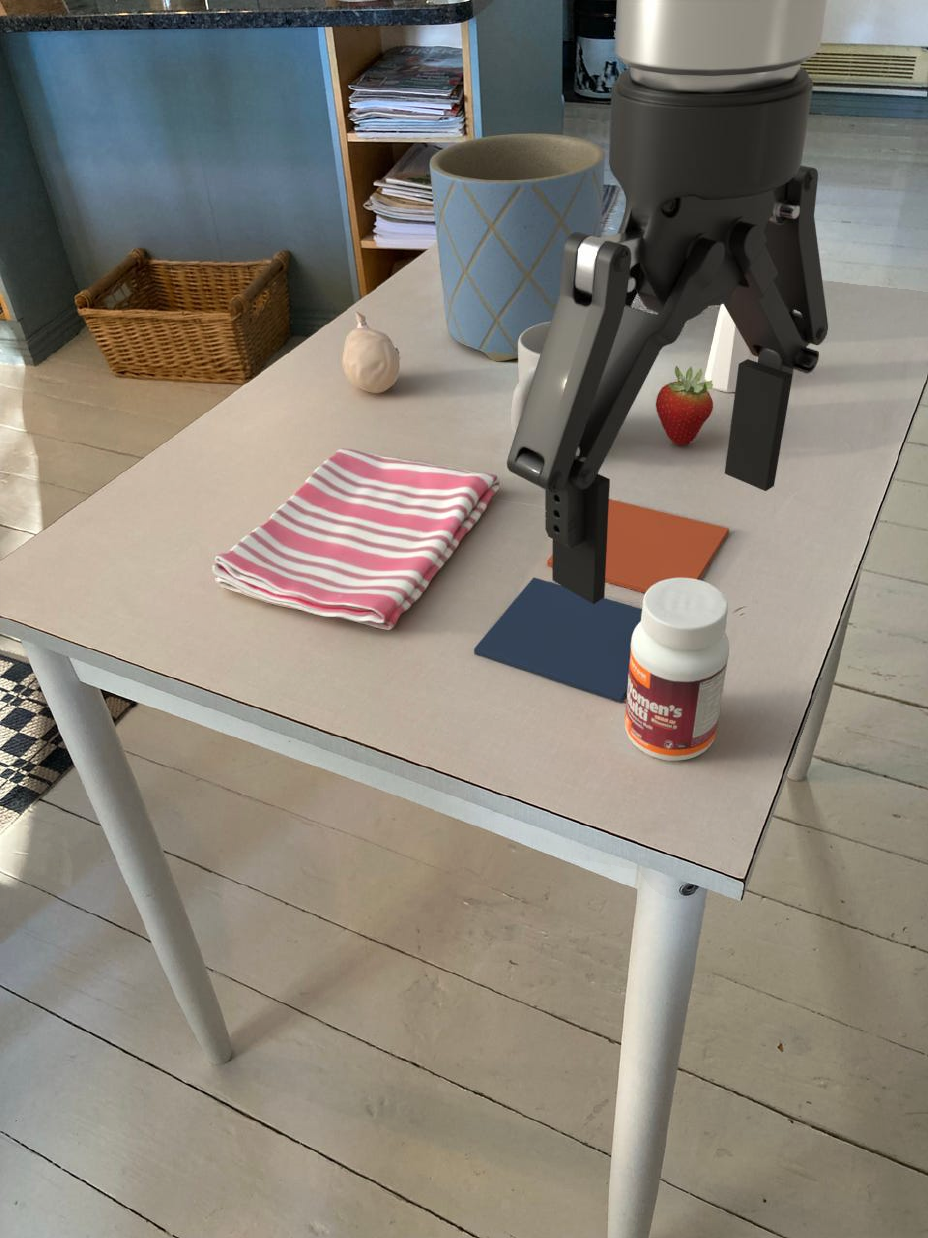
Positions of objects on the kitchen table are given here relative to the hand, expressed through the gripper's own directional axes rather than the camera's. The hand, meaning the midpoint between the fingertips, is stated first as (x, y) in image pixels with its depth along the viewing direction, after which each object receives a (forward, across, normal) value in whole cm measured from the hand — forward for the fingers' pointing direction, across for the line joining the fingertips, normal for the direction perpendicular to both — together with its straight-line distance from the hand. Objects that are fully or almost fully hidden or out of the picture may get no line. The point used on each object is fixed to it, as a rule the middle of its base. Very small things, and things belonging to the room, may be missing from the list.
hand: (669, 531), depth 51 cm
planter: (+21, -45, -58) cm, 76 cm away
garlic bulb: (+21, -24, -59) cm, 67 cm away
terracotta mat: (+20, -20, -18) cm, 34 cm away
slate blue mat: (+20, -8, -14) cm, 26 cm away
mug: (+20, -27, -35) cm, 49 cm away
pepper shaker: (+20, -51, -31) cm, 63 cm away
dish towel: (+21, -5, -36) cm, 42 cm away
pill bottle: (+20, -5, -2) cm, 21 cm away
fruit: (+20, -36, -26) cm, 49 cm away
